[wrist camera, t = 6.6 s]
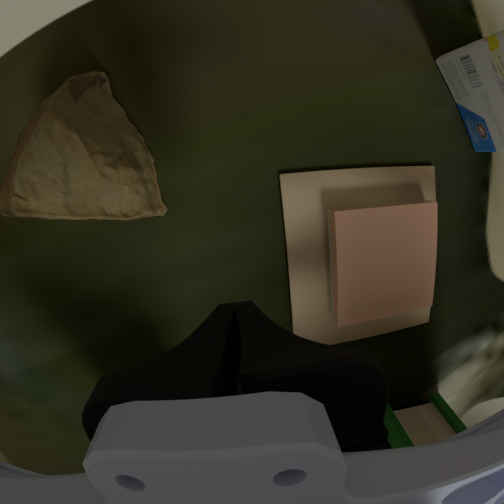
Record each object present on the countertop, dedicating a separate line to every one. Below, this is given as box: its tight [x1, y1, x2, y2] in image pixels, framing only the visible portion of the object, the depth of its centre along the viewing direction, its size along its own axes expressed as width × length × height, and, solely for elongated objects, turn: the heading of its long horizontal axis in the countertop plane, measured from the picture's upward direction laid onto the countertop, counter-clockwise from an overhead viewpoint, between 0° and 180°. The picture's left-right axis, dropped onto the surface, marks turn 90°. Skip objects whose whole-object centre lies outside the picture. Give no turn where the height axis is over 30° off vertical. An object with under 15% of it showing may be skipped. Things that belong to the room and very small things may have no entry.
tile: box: [327, 200, 437, 327], centre depth 21 cm, size 8×2×8 cm
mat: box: [279, 166, 436, 345], centre depth 22 cm, size 13×12×1 cm
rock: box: [0, 71, 167, 221], centre depth 16 cm, size 11×9×10 cm
